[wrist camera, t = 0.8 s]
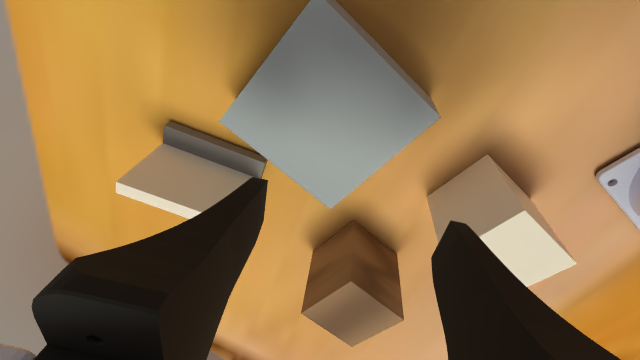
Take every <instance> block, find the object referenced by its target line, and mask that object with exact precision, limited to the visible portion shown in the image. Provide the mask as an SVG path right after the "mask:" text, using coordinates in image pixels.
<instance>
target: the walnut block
mask: <svg viewBox="0 0 640 360" xmlns="http://www.w3.org/2000/svg"><path fill="white" fill-rule="evenodd" d="M301 314H303V315H304V316H306V317H307V318H309V319H310V320H312V321H313V322H315V323H316V324H318V325H320V326H321V327H323V328H324V329H326V330H327V331H329V332H330V333H332V334H333V335H335V336H336V337H338V338H339V339H341V340H342V341H344V342H345V343H347V344H348V345H350V346H351V347H353V346H355V345H356V344H358V343H360V342H362V341H364V340H366V339H368V338H370V337H372V336H374V335H376V334H378V333H380V332H382V331H384V330H386V329H388V328H390V327H392V326H394V325H396V324H398V323H400V322H401V321H403V320H404V316H403V307H402V298H401V288H400V279H399V269H398V260H397V254H395V253H394V252H393V251H392V250H391V249H389V248H388V247H387V246H386V245H384V244H383V243H382V242H381V241H379V240H378V239H377V238H376V237H374V236H373V235H372V234H371V233H370V232H368V231H367V230H366V229H365V228H363V227H362V226H361V225H360V224H358V223H357V222H356V221H355V220H354V221H352V222H351V223H350V224H348V225H347V226H346V227H344V228H343V229H342V230H340V231H339V232H338V233H336V234H335V235H334V236H332V237H331V238H330V239H328V240H327V241H326V242H325V243H323V244H322V245H321V246H319V247H318V248H317V249H315V250H314V251H313V255H312V260H311V265H310V270H309V275H308V280H307V285H306V291H305V296H304V301H303V306H302V311H301Z"/></svg>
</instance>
